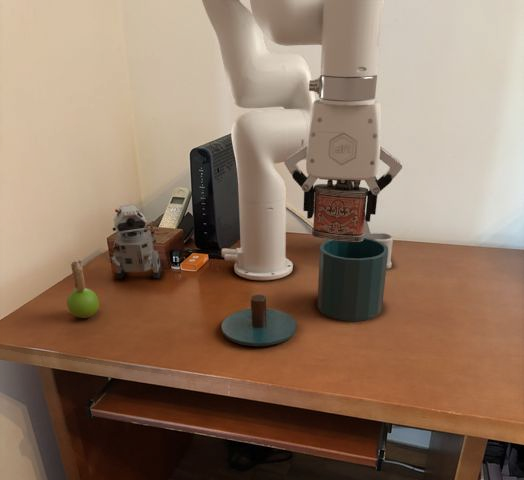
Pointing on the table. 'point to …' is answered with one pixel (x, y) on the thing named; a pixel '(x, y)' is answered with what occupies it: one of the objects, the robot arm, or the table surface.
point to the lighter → (339, 210)
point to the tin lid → (258, 325)
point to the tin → (352, 279)
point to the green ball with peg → (81, 295)
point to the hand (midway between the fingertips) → (338, 216)
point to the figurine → (134, 243)
